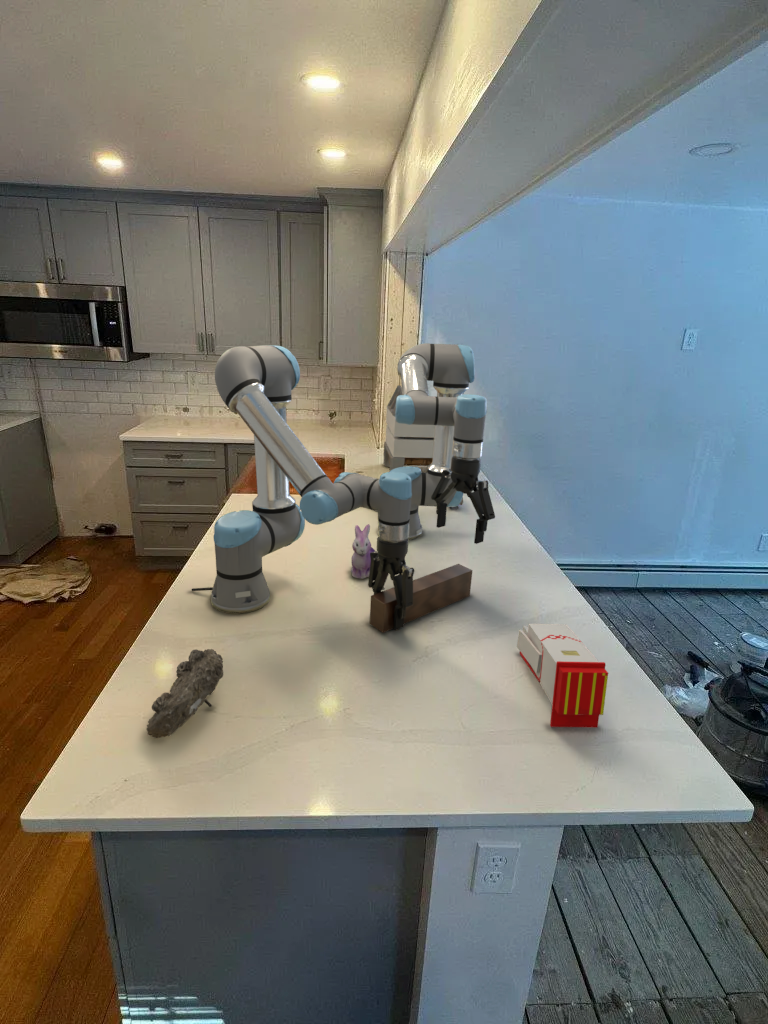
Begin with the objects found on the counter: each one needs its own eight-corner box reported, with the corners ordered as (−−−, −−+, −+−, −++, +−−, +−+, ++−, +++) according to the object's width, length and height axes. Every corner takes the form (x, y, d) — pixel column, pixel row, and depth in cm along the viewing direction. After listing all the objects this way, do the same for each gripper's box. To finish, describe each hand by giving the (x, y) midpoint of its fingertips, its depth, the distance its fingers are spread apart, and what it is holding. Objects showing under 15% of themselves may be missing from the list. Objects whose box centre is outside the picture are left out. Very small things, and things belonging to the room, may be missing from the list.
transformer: (382, 463, 289) (386, 382, 275) (445, 464, 293) (451, 384, 279) (390, 482, 257) (394, 392, 243) (460, 483, 261) (468, 394, 247)
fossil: (175, 650, 120) (224, 619, 115) (206, 680, 123) (256, 650, 118) (122, 731, 101) (179, 697, 96) (161, 764, 104) (219, 733, 99)
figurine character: (463, 514, 226) (458, 498, 239) (465, 496, 223) (460, 481, 236) (446, 513, 226) (442, 497, 239) (448, 496, 222) (444, 481, 236)
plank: (383, 633, 139) (384, 604, 136) (369, 624, 142) (370, 595, 140) (469, 596, 159) (472, 570, 156) (456, 588, 162) (458, 563, 160)
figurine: (357, 582, 163) (358, 534, 158) (342, 568, 171) (343, 521, 166) (386, 576, 167) (388, 529, 162) (370, 563, 176) (372, 517, 171)
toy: (562, 608, 134) (617, 669, 105) (557, 660, 137) (609, 734, 107) (511, 607, 134) (552, 667, 104) (507, 659, 136) (545, 733, 107)
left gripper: (354, 528, 140) (352, 610, 147) (409, 555, 126) (404, 644, 133) (378, 521, 144) (374, 601, 152) (433, 547, 130) (426, 633, 138)
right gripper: (421, 448, 151) (416, 523, 158) (495, 470, 133) (486, 553, 140) (441, 445, 155) (435, 517, 163) (515, 466, 138) (505, 546, 145)
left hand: (388, 621), depth 143 cm, fingers open, 7 cm apart
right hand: (459, 534), depth 152 cm, fingers open, 13 cm apart
